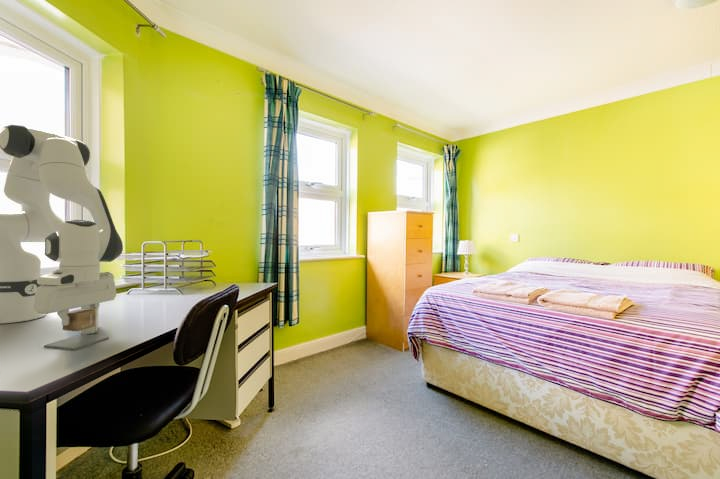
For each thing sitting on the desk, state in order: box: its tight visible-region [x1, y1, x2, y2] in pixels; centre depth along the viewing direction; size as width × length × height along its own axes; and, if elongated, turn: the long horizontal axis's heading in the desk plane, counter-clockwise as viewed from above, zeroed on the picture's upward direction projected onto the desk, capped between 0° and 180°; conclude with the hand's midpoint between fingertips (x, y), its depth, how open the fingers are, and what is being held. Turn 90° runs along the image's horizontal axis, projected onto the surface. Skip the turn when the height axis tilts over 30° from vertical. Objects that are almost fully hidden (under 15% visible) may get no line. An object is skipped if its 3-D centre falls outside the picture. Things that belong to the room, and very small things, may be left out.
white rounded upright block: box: [80, 305, 100, 335], centre depth 101 cm, size 10×4×12 cm, turn 39°
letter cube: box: [62, 308, 95, 332], centre depth 90 cm, size 5×5×5 cm
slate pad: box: [43, 333, 110, 351], centre depth 90 cm, size 10×10×1 cm
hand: (79, 321), depth 90 cm, fingers closed on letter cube, 5 cm apart
